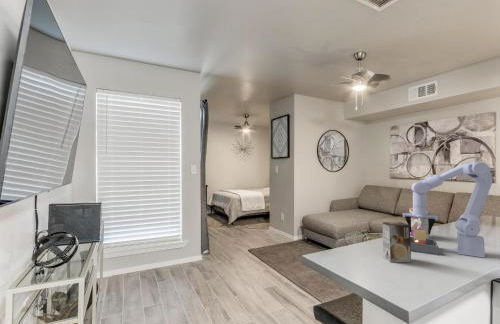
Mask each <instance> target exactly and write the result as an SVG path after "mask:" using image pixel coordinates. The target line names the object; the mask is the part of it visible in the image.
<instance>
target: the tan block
mask: <svg viewBox="0 0 500 324" xmlns="http://www.w3.org/2000/svg"><path fill="white" fill-rule="evenodd" d="M413 237H414V238H415V239H417V240H426V231H425V230H424V229H414V236H413Z"/></svg>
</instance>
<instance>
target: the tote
mask: <svg viewBox="0 0 500 324" xmlns="http://www.w3.org/2000/svg"><path fill="white" fill-rule="evenodd" d="M413 238H414V236H410V241H411V252H412V253H422V254H427V255H434V256H439V254H440V253H439V251H440V250H439V245H438V243H437V240H436V239H433V238H429V239H426V245H425V244H417V243H414V241H413Z"/></svg>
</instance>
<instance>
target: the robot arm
mask: <svg viewBox="0 0 500 324" xmlns="http://www.w3.org/2000/svg"><path fill="white" fill-rule="evenodd" d="M491 171H492V168H491V167H490V166H489V165H488V164H487V163H486V162H484V161H474V162H473V161H469V162H466V163H462V164H460V165H458V166H455V167H454V168H452V169H449V170H447V171H445V172H443V173H442V174H430V175H428V177H426V178H423V179H419V181H416V182H413V183H412V184H411V186H410V190H411V191H412V208H413V213H409V212H402V218H404V219H405V221H406V224H408V225H410V232H412V229H411V218H420V219H428V234H429V235H431V232H432V228H433V227H434V224H435V223H436V221H438V220H439V218H438V217H439V216H438V215H433V214H429V215H426V211H427V193H428V191H430V190H433V189H436V188H438V187H440V186H443V183H444V182H445V181H447V180H449V179H452V178H455V177H457V176H459V175H467V176H470V177H471V178H472V180H473V181H474V182H475V184H474V188H472V189H473V190H472V192H471V194H470V198H469V200H468V202H467V205H466V208H465V210H464V213H462V214H461V215H460V217H459V218H458V219H457V220H456V221H455V222H454V226H455V229H457V232H456V233H457V236H456V237H457V240H456V241H457V248H455V249H454V250H455V252H456V253H458V254H459V255H464V256H470V257H478V258H486V256H485V253H486V251H485V239H484V237H483V236H481V235H479V233H480V232H481V228H480V224H481V221H480V215H481V212H482V210H483V207H484V205H485V202H486V200H487V197H488V195H489V192H490V189H491V187H492V185H493V178H492V173H491ZM422 217H424V218H422Z"/></svg>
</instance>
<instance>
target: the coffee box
mask: <svg viewBox="0 0 500 324" xmlns="http://www.w3.org/2000/svg"><path fill="white" fill-rule="evenodd" d="M381 225H382V227H381V228H382V257H383V259H385V260H387V261H388V262H390V263H412V251H411V241H410V237H411V235H410V225H408V223H405V222H402V221H401V222H400V221H399V222H396V221H395V222H393V221H392V222H391V221H386V222H383V221H382V223H381Z"/></svg>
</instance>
